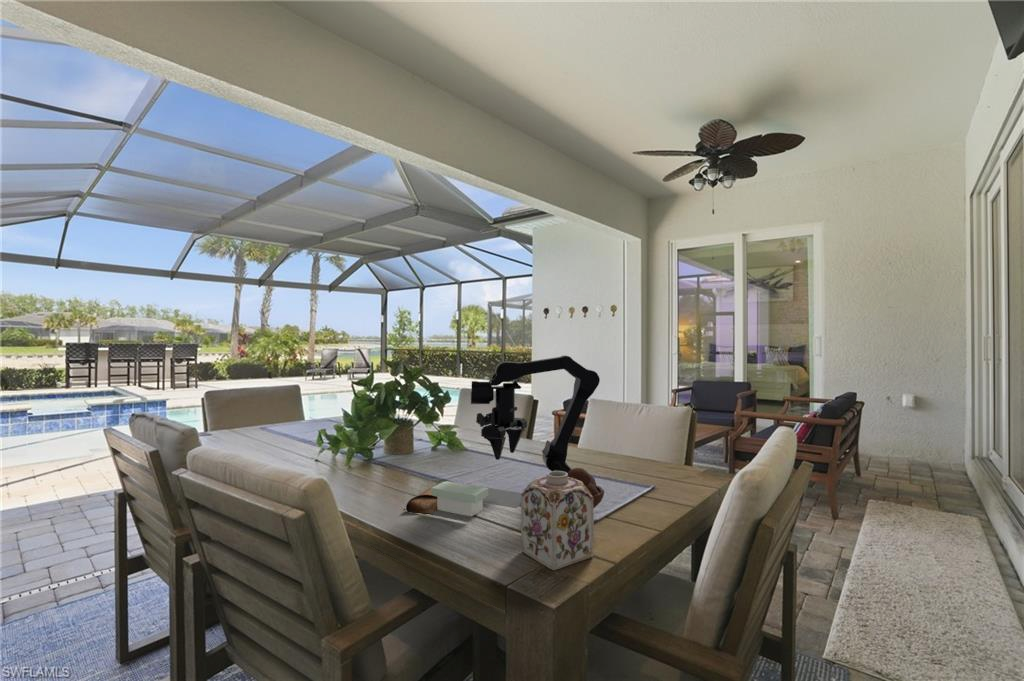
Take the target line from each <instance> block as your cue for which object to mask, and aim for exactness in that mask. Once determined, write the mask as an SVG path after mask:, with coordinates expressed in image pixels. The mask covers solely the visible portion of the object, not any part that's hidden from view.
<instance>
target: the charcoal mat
mask: <svg viewBox="0 0 1024 681" xmlns="http://www.w3.org/2000/svg"><path fill="white" fill-rule="evenodd" d="M480 487H483V486H480ZM484 487H485V488H488V496H487V497H485V498H483V503H485V504H492V505H495V506H502V507H507V508H513V509H517V508H518V507H520V506H521V494H522V492H517V491H513V490H511V491H510V490H506V489H498V488H493V487H487V486H484Z"/></svg>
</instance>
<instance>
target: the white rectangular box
mask: <svg viewBox="0 0 1024 681" xmlns="http://www.w3.org/2000/svg"><path fill="white" fill-rule="evenodd" d="M483 503H484V502H483V499H482V500H480V501H478V502H477V503H472V502H467V501H461V500H456V499H450V498H444V497H439V496H437V510H438V511H443V512H446V513H452V514H457V515H461V516H462V515H463V516H468V517H473V516H475V515H476V514H479V513H480V512H481V511H483V510H484V509H483ZM437 510H436V511H437Z"/></svg>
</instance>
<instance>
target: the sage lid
mask: <svg viewBox="0 0 1024 681" xmlns="http://www.w3.org/2000/svg"><path fill="white" fill-rule="evenodd" d="M435 485H436V484H435ZM435 485H433V486H434V487H433V486H431V487H432V488H431V487H430V488H431V495H433V496H439V497H444V498H450V499H456V500H461V501H467V502H472V503H477V502H478V501H480V500H482V499H483V498H485V497H487V496H488V488H489V487H488V488H485V487H486V486H482V487H481V486H477V485H471V484H465V483H460V482H453V481H447V480H446V481H443V482H441V483H439V484H438V485H436V486H435Z"/></svg>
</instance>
